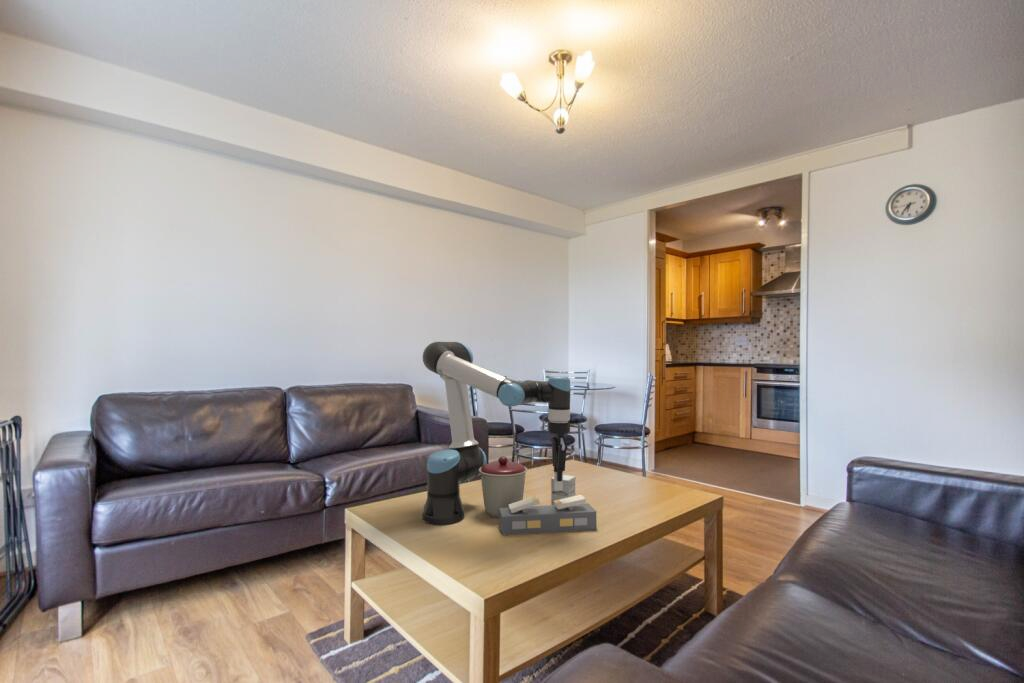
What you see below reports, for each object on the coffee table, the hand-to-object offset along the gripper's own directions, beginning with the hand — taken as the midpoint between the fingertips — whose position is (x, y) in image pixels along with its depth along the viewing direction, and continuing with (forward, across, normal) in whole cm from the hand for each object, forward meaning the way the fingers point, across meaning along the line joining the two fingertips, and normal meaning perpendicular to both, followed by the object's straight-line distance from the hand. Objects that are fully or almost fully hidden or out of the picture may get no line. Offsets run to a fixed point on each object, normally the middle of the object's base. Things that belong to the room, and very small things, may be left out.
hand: (558, 489), depth 163 cm
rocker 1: (+4, 0, +12) cm, 13 cm away
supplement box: (+13, +16, -6) cm, 21 cm away
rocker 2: (+4, 0, -4) cm, 6 cm away
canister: (+13, +16, +17) cm, 27 cm away
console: (+13, 0, +4) cm, 13 cm away
